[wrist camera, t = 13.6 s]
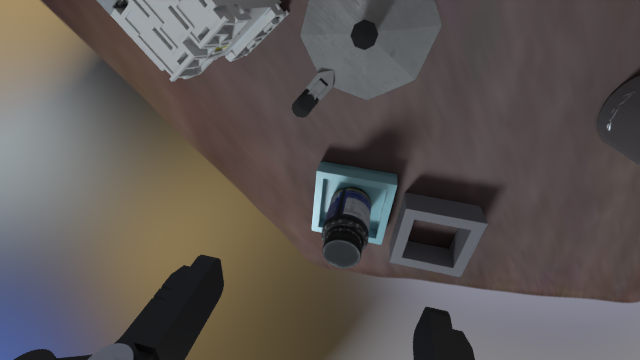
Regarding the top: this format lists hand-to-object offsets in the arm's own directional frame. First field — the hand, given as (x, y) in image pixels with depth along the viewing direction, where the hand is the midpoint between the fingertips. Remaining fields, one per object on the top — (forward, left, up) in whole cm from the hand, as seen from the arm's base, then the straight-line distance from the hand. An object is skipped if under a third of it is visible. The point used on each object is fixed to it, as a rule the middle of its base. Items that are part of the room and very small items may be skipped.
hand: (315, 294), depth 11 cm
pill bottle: (0, +17, -29) cm, 34 cm away
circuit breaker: (+18, -10, -30) cm, 37 cm away
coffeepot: (+1, -7, -30) cm, 31 cm away
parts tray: (0, +17, -30) cm, 34 cm away
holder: (-13, +19, -30) cm, 38 cm away
